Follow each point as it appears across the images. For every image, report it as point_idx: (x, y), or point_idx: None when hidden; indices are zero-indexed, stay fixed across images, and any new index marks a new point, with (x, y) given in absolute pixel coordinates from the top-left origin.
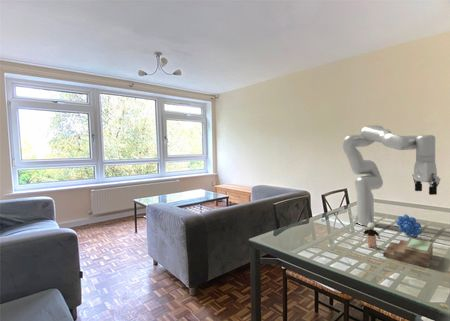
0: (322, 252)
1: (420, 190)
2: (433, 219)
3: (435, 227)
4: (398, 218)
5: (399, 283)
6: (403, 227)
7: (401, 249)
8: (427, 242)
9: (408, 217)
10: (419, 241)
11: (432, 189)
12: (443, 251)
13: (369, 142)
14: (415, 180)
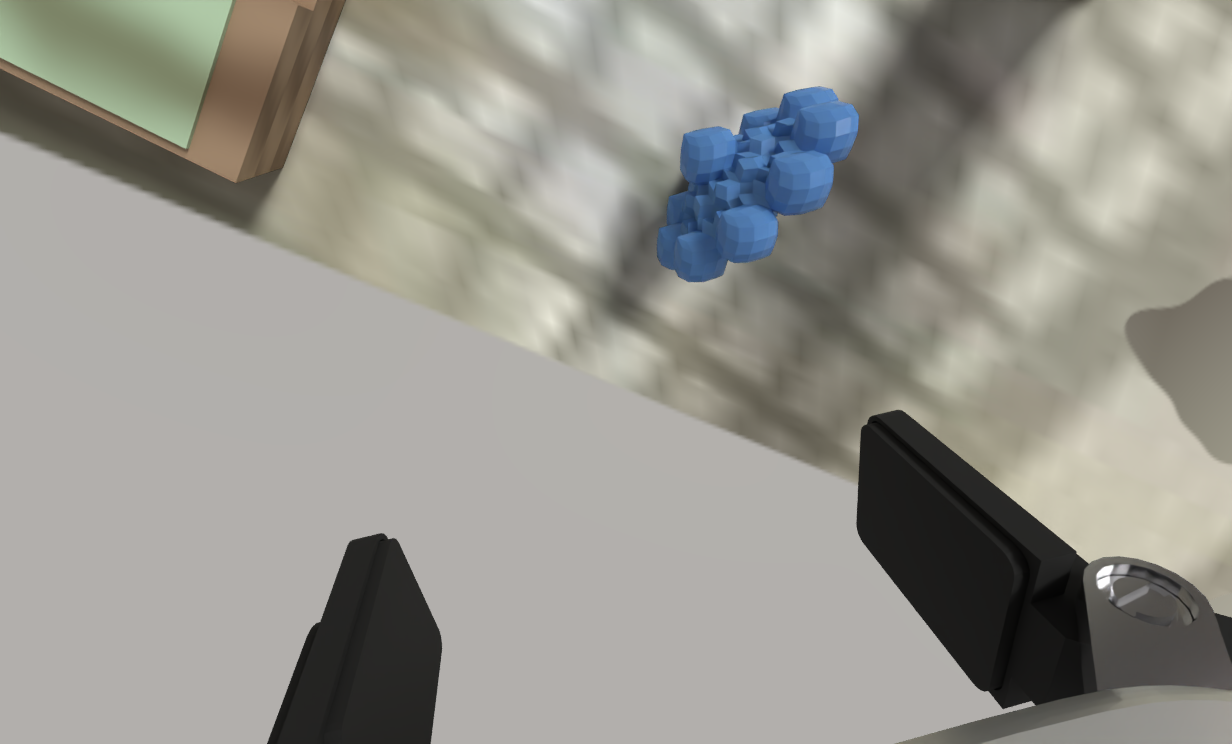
0: None
1: (864, 513)
2: (1043, 497)
3: None
4: (827, 102)
5: None
6: (740, 134)
7: None
8: (175, 117)
9: (773, 198)
10: (171, 39)
11: (281, 713)
12: (398, 284)
13: None
14: (1204, 682)
